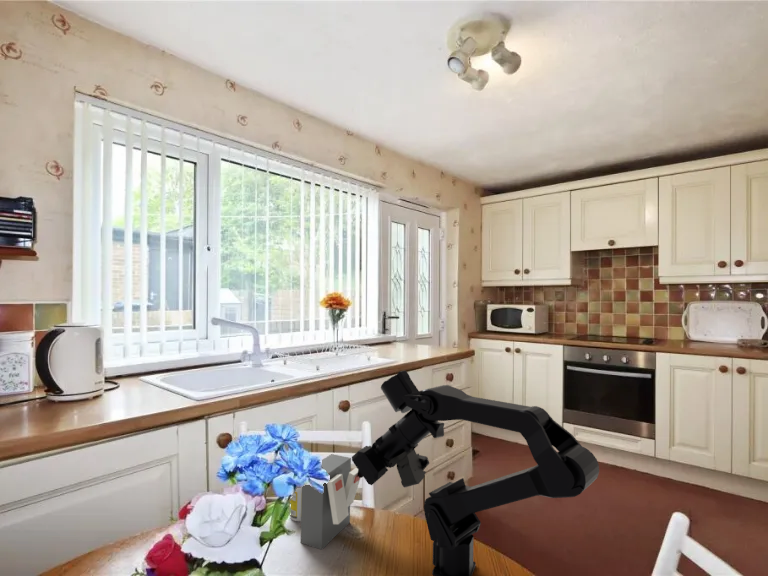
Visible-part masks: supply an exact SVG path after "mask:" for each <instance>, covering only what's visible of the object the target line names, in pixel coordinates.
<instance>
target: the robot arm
mask: <svg viewBox="0 0 768 576" xmlns="http://www.w3.org/2000/svg"><path fill="white" fill-rule="evenodd" d="M380 390H381V391H382V393H383V394H384V396H385V398H386V399H387V400H388V402H389V404H390V406H391V407H392V409H393V410H394V412H395V413H398V412H401V414H405V415H404V416H402V417H401V418H400V419H399V420H398V421H397V422H395V423H394V424H392V425H391V426H390V427H389V428H388V430H386V432H385V433H384V434H383V435H380V436H379V437H377V439H375V440H374V442H373V443H372V445H365V446H364V447H363V448H360V449H359V450H358V451H357V452H355V454H353V455H351V462H353V463H352V464H354V465H355V468H356V467H357V468H358V476H359V478H360V479H361V478H364V480H365V482H367V484H368V485H370V486H373V485H374V484H375V483H377V481H379V479H381V478H382V477H383V476H384V475H385V474H387V472H388V471H389V469H391V468H394V467H395V466H396V469H397V472H398V476H399V478H400V482H401V485H402V487H403V488H408V487H412V486H416V485H419V484H420V483H421V482H422V481H423V480H424V478H425V475H426V474H427V471H426V470H425V469H426V468H427V467H428V466H429V465H430V460H429V458H428V456H425V455H422V454H420V453H417V451H416V448H417V447H418V446H419V444H420V442H421V441H423V440H424V439H425V438H426V437H427V436H428V435H429V434H431V436H432V437H433V438H434V439H437V438H438V439H439V438H443V437H444V436H445V428H444V427H445V423H444V422H445V421H446V422H449V421H457V420H458V421H460V420H461V421H467V422H470V423H476V424H479V425H484V426H487V427H488V426H489V427H493V428H498V429H501V430H506V431H511V432H515V433H520V435H521V436H522V437H523V439H524V440H525V441H526V444H527V446H528V448H529V451H530V454H531V455H532V458H533V460H534V461H535V463H536V465H534V466H531V467H528V468H524V469H523V470H519V471H516V472H513V473H509V474H507V475H503V476H501V477H498V478H495V479H491V480H488V481H485V482H483V483H479V484H475V485H473V486H472V485H471V486H470V485H466V483H465V480H464V477H462V478H460V479H458V480H456V481H455V482H452V481H451V482H450V481H449V482H447V483H445V484H443V485H441V486H440V487H437V488H436V489H434V490H432V491H430V492H428V495H429V496H428V497H427V498H426V499H425V500H424V506H423V511H424V516H425V521H426V525H427V530H428V533H429V538H430V540H431V541H432V565H433V566H434V567H433V569H432V572H431V573H432V575H433V576H473V573H474V571H475V568H476V565H477V564H476V561H474V539H475V538H474V535H473V534H475V533H478V532H479V529H480V526H481V524H482V522H481V520H480V518H478V516H477V514H476V513H478V512H482V511H486V510H489V509H493V508H497V507H501V506H505V505H507V504H511V503H516V502H519V501H522V500H526V499H530V498H534V497H539V496H540V497H545V498H551V499H562V498H575V497H578V496H579V495H581V494H582V493H583V492H584V491H585V490H587V488H588V487H590V485H592V484H594V482H595V481H596V479H598V477H599V474H600V464H599V461H598V459H597V458H596V456H595V455H594V454H593V452H591V451H590V450H589V449H588V448H586V447H584V446H582V444H581V443H580V442H579V441H578V440H577V439H576V438H575V436H574V435H573V434H572V433H570V432H569V431H568V430H567V429H565V428H564V427H563V426H562V425H560V424H559V423H557V422H556V420H554V419H553V418H552V416H551V415H550V414H549V412H547V411H546V410H545V409H544V408H542V407H541V406H537V405H535V406H533V405H532V406H528V405H523V404H517V403H512V402H506V401H500V400H495V399H494V400H493V399H488V398H484V397H483V398H482V397H476V396H473V395H469V394H467V393H466V392H464V391H463V390H461V389H459V388H456V387H454V386H452V385H448V384H446V385H445V384H443V385H439V386H434V387H431V388H430V387H429V388H427V389H423V390H419V389H418V387H417V386H416V385H415V383H414V382H413V380H412V379H411V377H410V374H409V372H407V370H401V371H398V372H397V374H395V375H393V376H391V377H390V378H388V379H387V380H384V381H383V383H382V384H381V385H380ZM388 468H389V469H388Z"/></svg>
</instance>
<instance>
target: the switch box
mask: <svg viewBox="0 0 768 576" xmlns="http://www.w3.org/2000/svg"><path fill="white" fill-rule="evenodd" d="M321 460H322V467H323V469H325V470H326V471H327V473H328V474H329V475H330V479H332V478H333V477H334V476H336V475H337V474H342V475H343V481H344V488H345V486H346V482H347V479H348V475H349V472H351V471H352V457H348V456H345V455H344V456H343V455H338V454H333V453H331V454H329V455H328V456H326V457H324V458H323V459H321ZM323 486H324V493H323V494H321V493H319V492H317V491H316V490H314V489H313V488H312V487H311V486H310V485H305V486H303V487H302V504H301V521H300V544H303V545H306V546H309V547H313V548H316V549H318V550H319V549H320V550H322V549H324V548H325V547H326V546H327V545H328V544H329V543H330V542H331V541H333V539H335V537H336V536H337V535H339V533H340V532H342V531H343V530H344V529H345V527H347V526H348V525H349V524H350V522H351V505H350V506H349V507H348V513H349V515H348V516H347V517H346V518H345V519H344V520H343V521H342V522H340V523H339V524H333V519H332V513H331V506H330V500H329V493H328V486H327V484H326V483H324V484H323Z"/></svg>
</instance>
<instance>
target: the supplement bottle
mask: <svg viewBox="0 0 768 576" xmlns="http://www.w3.org/2000/svg"><path fill="white" fill-rule="evenodd" d="M290 503H291V515H290V514H289V518H290V520H292V521H294V520H295V521H294V522H301V504H302V487H301V488H297V489H296V491H295V493H294V494H293V497H292V498H291V501H290V500H289V504H290Z"/></svg>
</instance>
